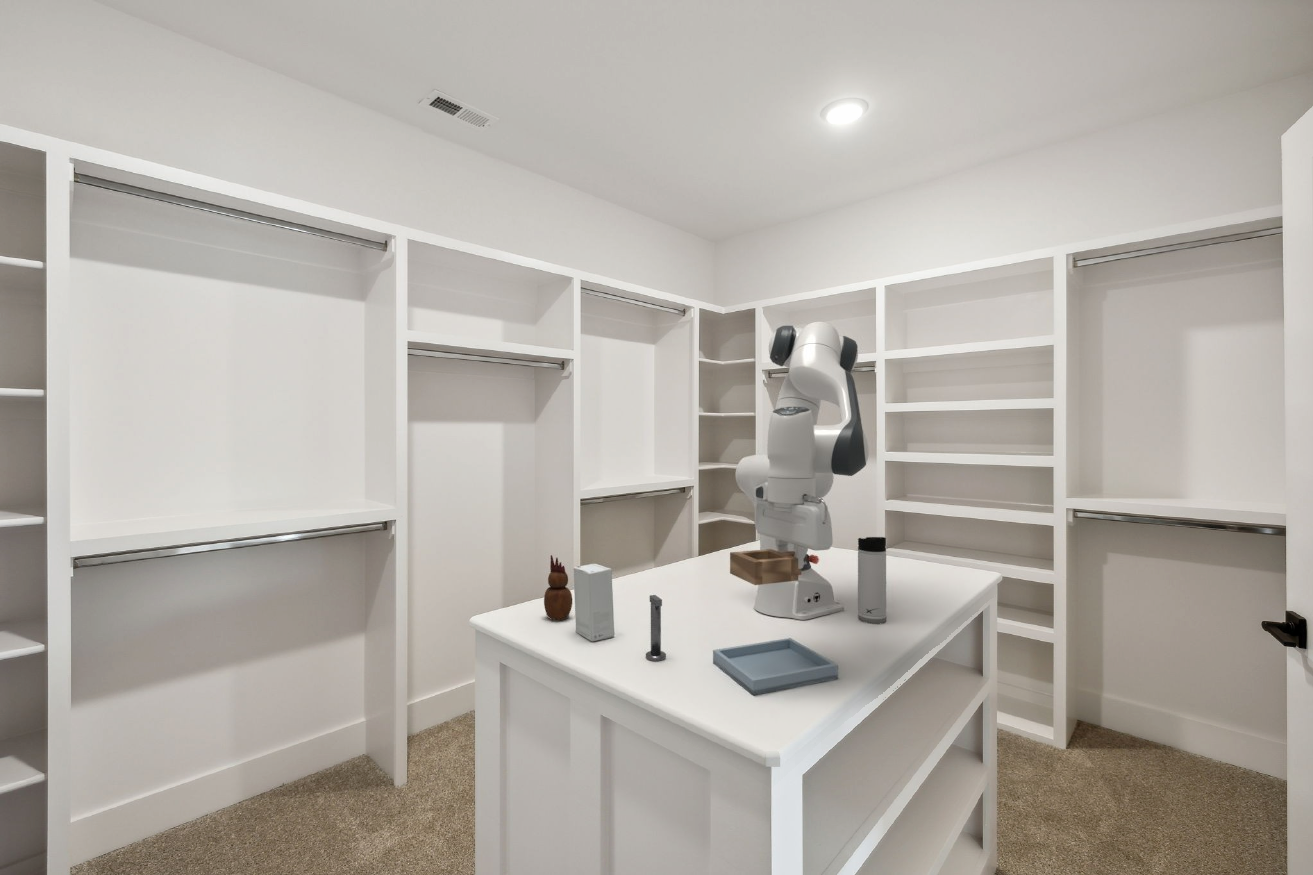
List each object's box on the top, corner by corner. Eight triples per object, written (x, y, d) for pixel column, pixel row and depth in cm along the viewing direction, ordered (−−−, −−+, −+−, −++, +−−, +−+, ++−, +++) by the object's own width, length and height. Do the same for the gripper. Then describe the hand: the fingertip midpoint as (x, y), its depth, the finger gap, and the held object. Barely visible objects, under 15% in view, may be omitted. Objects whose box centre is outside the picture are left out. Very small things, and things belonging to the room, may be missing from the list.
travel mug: (872, 626, 129) (872, 538, 129) (852, 617, 135) (852, 534, 135) (893, 622, 132) (893, 536, 132) (872, 614, 138) (872, 532, 138)
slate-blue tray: (790, 650, 115) (790, 637, 115) (838, 678, 101) (838, 664, 101) (713, 663, 108) (713, 650, 108) (753, 695, 95) (753, 680, 95)
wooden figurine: (539, 618, 135) (539, 555, 135) (559, 612, 140) (559, 552, 140) (557, 624, 131) (556, 559, 131) (576, 618, 135) (576, 555, 135)
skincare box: (614, 637, 122) (614, 569, 122) (589, 643, 119) (589, 572, 119) (597, 626, 129) (596, 561, 129) (572, 631, 126) (572, 565, 126)
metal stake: (661, 652, 114) (661, 593, 114) (669, 659, 110) (668, 599, 110) (642, 655, 112) (642, 595, 112) (649, 662, 108) (649, 601, 108)
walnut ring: (783, 568, 111) (783, 547, 111) (812, 578, 103) (812, 557, 103) (730, 573, 107) (730, 552, 107) (754, 585, 98) (754, 562, 98)
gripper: (841, 497, 98) (841, 576, 98) (775, 487, 117) (775, 554, 117) (811, 498, 96) (811, 580, 96) (749, 488, 115) (749, 556, 115)
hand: (791, 565), depth 106 cm, fingers closed on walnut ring, 2 cm apart
